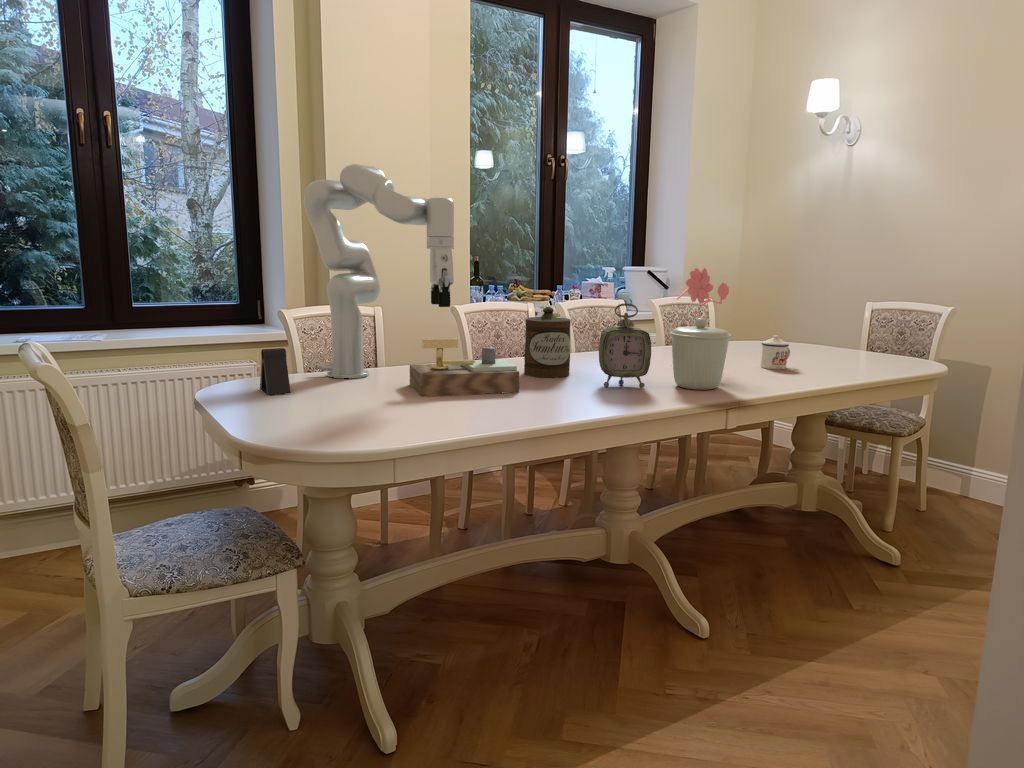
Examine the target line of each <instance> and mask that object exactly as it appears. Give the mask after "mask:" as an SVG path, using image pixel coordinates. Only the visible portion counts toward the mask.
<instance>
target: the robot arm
mask: <svg viewBox="0 0 1024 768" xmlns="http://www.w3.org/2000/svg"><path fill="white" fill-rule="evenodd" d="M339 174H340V175H339V180H333V179H317V180H314V181H311V182H310V183H309V184H308V185H307V187H306V189H305V191H304V194H303V207H304V208H303V209H304V212H305V215H306V217H307V219H308V222H309V224H310V226H311V228H312V232H313V234H314V238H315V241H316V244H317V247H318V251H319V255H320V256H321V260H322V263H323V264H324V266H325V268H326V269H327V270H329V271H333V272H347V273H338V274H336V275H333V276H332V277H331V278H330V279H329V281H328V283H327V285H326V295H327V298H328V303H329V309H330V325H331V329H330V330H331V359H330V362H327V363H316V369H317V370H316V371H320V370H321V371H327V374H326V375H327V377H329V378H332V377H334V379H344V378H349V379H360V378H365V377H368V376H369V370H366V369H364V331H363V330H364V328H363V327H364V325H363V324H364V323H363V315H362V312H361V310H360V308H359V305H360V304H362V305H363V304H370V303H374V302H375V301H377V300H378V298H379V296H380V293H381V284H380V280H379V277H378V274H377V270H376V267H375V265H374V261H373V258H372V255H371V252H370V250H369V248H368V247H367V245H365V244H364V243H363V242H361V241H359V240H354V239H353V240H352V239H347V238H346V237H345V234H344V232H343V227H342V225H341V223H340V221H339V220H338V218H337V217H336V216H335V215H334V213H332V210H344V211H351V210H356V209H358V208H359V207H361V206H364V205H366V204H367V203H369V204H371V205H373V206H374V208H375V209H376V211H377V212H378V213H379V214H381V216H384V217H386V218H388V219H389V220H392V221H393V222H396V223H398V224H402V225H412V226H426V249H427V250H430V251H429V281H430V283H431V288H430V289H431V290H430V303H431V305H438V308H450V307H451V286H453V284H454V283H455V282H454V260H453V259H454V258H453V250H454V248H455V244H454V243H455V202H454V201H453V199H452V198H450V197H430V198H426V197H417V196H406V195H403V194H400V193H398V192H396V191H395V187H394V184H393V182H392V180H390V179H389V178H386V176H385V174H384V172H383V171H382V170H381V169H379V168H378V167H375V166H370V165H363V164H358V163H357V164H349V165H346V166H345V167H343V168H342V170H341V172H340V173H339Z"/></svg>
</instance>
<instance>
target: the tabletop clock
mask: <svg viewBox="0 0 1024 768" xmlns="http://www.w3.org/2000/svg"><path fill="white" fill-rule="evenodd" d="M627 306H628V307H632V308H634V309H635V310H636V312H635V313H633V314H628V312H624V314H619V313H617V310H618V309H619V308H620V307H627ZM638 312H639V310H638V307H637V306H636V305H634V304H632V303H620V304H618V305H616V307H615V308H614V314H615V315H616V316H617V317H620V318H621V319H619V320H618V322H617V324H616V326H610V327H606V328H604V329H603V330H602V331H601V334H600V338H599V343H598V344H599V345H598V362H599V363H598V364H599V367H600V369H601V370H600V371H602V372H603V373H604V374H605V375H607V376H608V377H607V379H606V380H607V381H605V382H604V383H603V387H605V388H608V387H609V386H610V383H609V382H610V381H611V378H612V377H615V378H620V380H618V385H620V386H623V385H624V383H625V382H624V378H636V379H637V381H638V383H639V384H638V387H639V388H640V389H644V387H645V383H644V382H642V380H641V378H640V377H644V376H646V375H647V374H648V373H649V370H650V367H651V366H650V365H651V360H652V339H651V335H650V334H649V333H650V332H648V331H646V330H645V329H641V328H639V327H635V323H634V322H633V321H632V319H630V318H633V317H635V316H637V314H638Z"/></svg>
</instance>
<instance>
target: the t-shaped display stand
mask: <svg viewBox="0 0 1024 768" xmlns="http://www.w3.org/2000/svg"><path fill="white" fill-rule="evenodd" d="M421 348H422V349H435V353H436V354H435V356H436V357H435V359H436V360H435V361H436V362H435V364H436V365H431V369H433V370H447V369H449V366H448V365H443V364H468V363H475V361H474V360H475V359H447V360H446V359H445V360H444V349H448V348H449V349H450V348H451V349H452V348H453V349H454V348H455V349H457V348H459V339H458V338H457V337H453V338H451V337H447V338H445V337H444V338H441V337H439V338H421Z"/></svg>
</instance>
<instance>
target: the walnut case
mask: <svg viewBox="0 0 1024 768" xmlns="http://www.w3.org/2000/svg"><path fill="white" fill-rule="evenodd" d="M431 365H436V363H427V364H426V363H425V364H424V363H423V364H419V363H417V364H409V386H410V387H411V388H412V389H414V391H415V392H417V393H418V395H420V397H421V398H422V397H424V396H426V397H443V396H442V395H450V396H463V395H462V394H474V395H486V394H485V393H497V394H503V393H502V392H519V393H520V371H519V370H518V369H517V370H512V371H482V372H472V371H471V370H469V369H468V368H466V367H464V366H463V365H461V364H443V365H448V366H449V369H447V370H433V369H431ZM440 395H441V396H440Z"/></svg>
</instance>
